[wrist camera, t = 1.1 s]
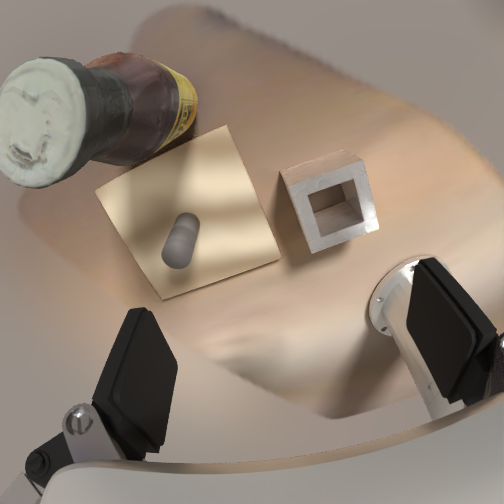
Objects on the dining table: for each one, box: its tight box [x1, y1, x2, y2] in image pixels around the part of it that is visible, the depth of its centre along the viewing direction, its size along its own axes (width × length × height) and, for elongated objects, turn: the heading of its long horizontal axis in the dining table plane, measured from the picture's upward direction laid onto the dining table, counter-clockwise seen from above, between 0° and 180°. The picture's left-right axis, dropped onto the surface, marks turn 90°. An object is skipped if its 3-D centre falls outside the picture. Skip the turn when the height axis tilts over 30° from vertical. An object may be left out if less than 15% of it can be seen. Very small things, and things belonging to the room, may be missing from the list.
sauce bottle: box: [0, 52, 198, 189], centre depth 15 cm, size 6×6×20 cm
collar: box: [280, 149, 379, 254], centre depth 26 cm, size 6×6×5 cm
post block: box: [95, 124, 282, 300], centre depth 26 cm, size 14×14×7 cm
